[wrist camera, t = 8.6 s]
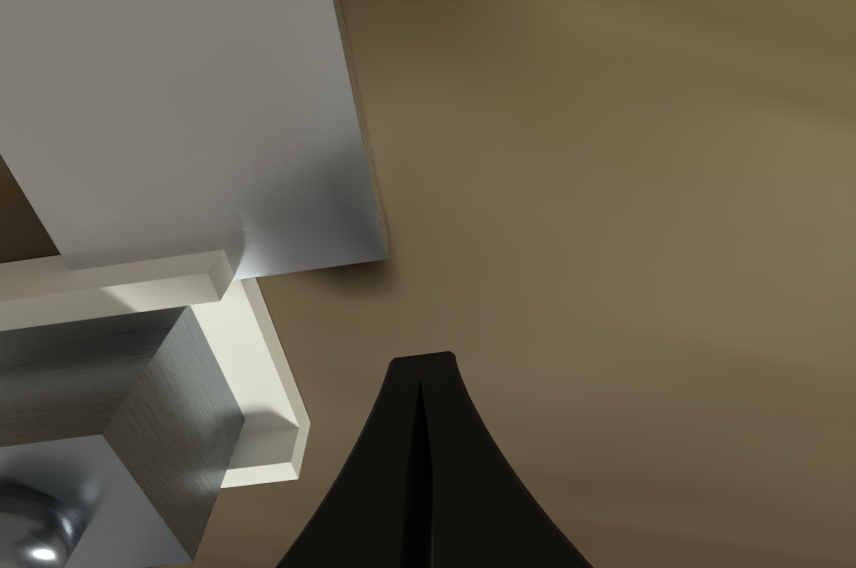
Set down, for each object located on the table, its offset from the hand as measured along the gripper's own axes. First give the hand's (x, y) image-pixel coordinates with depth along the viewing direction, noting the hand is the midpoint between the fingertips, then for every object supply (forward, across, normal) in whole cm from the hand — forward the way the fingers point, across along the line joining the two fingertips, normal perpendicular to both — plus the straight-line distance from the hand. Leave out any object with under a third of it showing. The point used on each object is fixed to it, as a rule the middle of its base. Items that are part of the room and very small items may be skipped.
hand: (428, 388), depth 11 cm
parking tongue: (+3, +4, -6) cm, 8 cm away
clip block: (+2, +8, 0) cm, 8 cm away
